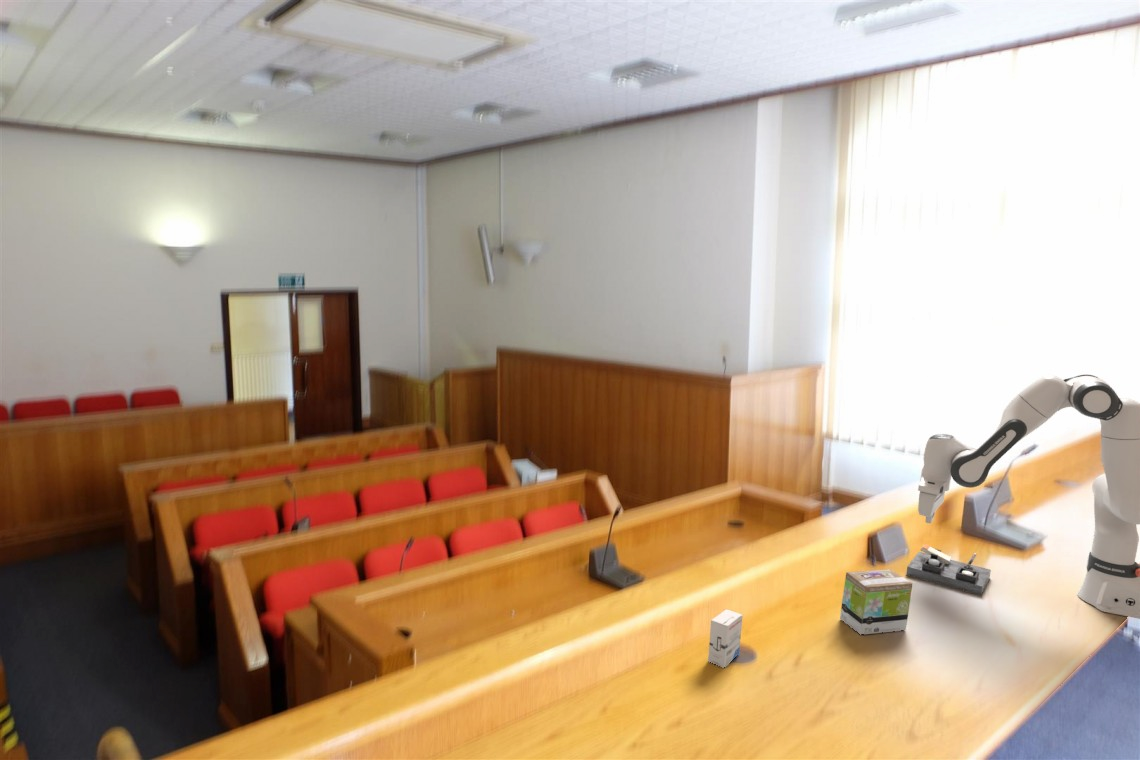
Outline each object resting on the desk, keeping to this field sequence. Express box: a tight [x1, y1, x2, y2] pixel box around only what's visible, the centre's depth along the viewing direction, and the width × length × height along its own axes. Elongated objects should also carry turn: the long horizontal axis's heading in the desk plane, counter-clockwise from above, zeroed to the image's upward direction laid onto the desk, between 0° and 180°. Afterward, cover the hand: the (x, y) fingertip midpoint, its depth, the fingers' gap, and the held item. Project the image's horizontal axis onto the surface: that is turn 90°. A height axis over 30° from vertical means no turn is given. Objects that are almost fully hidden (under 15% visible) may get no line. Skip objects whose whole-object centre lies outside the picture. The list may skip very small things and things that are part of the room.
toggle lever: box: [966, 553, 978, 567], centre depth 249 cm, size 1×1×5 cm
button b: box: [928, 559, 939, 566], centre depth 248 cm, size 3×3×1 cm
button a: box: [962, 571, 973, 576], centre depth 243 cm, size 3×3×1 cm
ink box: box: [707, 608, 744, 669], centre depth 195 cm, size 9×5×12 cm, turn 141°
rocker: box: [920, 543, 952, 564], centre depth 255 cm, size 9×4×2 cm, turn 54°
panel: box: [906, 548, 992, 596], centre depth 249 cm, size 22×16×6 cm
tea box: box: [839, 568, 913, 636], centre depth 215 cm, size 15×10×15 cm
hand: (929, 521), depth 254 cm, fingers closed
